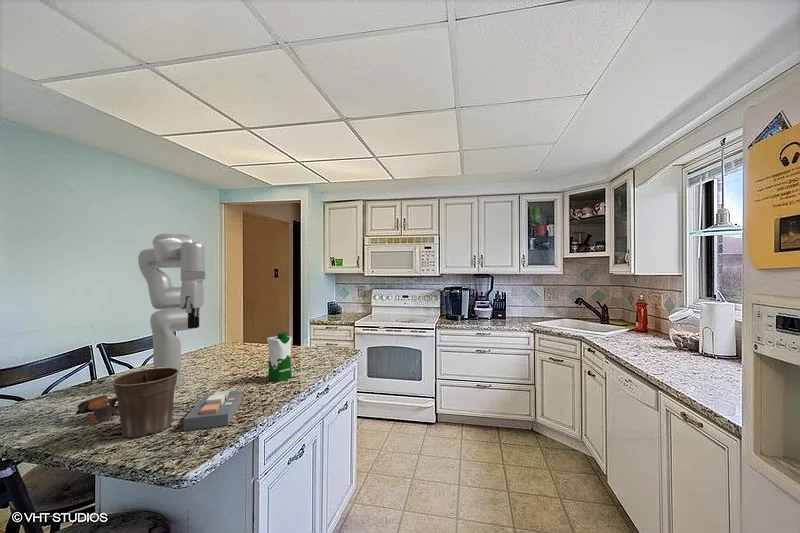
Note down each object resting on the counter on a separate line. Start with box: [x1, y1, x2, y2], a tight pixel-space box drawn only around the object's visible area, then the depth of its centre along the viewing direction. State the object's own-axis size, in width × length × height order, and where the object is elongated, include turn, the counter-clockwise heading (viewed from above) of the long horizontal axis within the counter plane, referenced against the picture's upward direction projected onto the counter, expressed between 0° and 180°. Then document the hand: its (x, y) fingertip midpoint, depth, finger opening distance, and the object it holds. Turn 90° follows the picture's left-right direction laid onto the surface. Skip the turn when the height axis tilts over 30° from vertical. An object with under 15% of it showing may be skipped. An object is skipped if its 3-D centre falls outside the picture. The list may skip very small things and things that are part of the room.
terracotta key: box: [200, 404, 220, 415], centre depth 106 cm, size 4×4×3 cm
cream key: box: [206, 394, 225, 406], centre depth 112 cm, size 4×4×3 cm
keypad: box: [183, 390, 243, 431], centre depth 112 cm, size 21×12×4 cm, turn 14°
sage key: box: [214, 390, 230, 399], centre depth 118 cm, size 4×4×3 cm
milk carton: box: [266, 331, 293, 383], centre depth 148 cm, size 9×9×20 cm
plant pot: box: [111, 367, 179, 439], centre depth 102 cm, size 16×16×16 cm
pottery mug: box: [75, 395, 119, 426], centre depth 111 cm, size 12×10×8 cm
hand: (193, 327), depth 122 cm, fingers closed
